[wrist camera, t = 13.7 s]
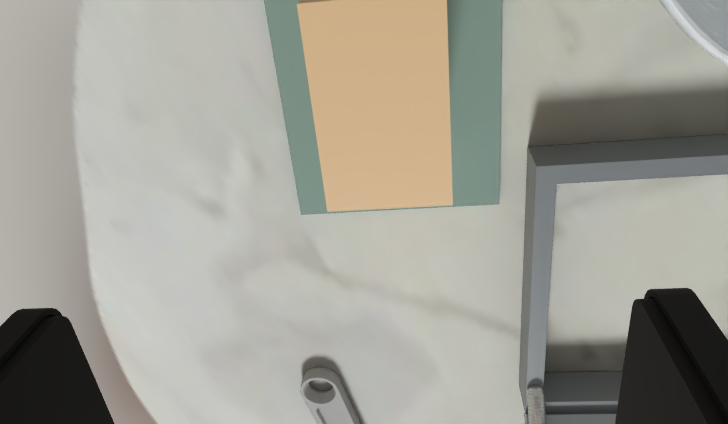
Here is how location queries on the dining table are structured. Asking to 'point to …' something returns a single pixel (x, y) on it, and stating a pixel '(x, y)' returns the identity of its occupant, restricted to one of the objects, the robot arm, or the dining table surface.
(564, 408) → the equipment case
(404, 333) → the dining table surface
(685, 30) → the serving bowl
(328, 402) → the adjustable wrench
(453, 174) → the rubber mat
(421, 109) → the block
